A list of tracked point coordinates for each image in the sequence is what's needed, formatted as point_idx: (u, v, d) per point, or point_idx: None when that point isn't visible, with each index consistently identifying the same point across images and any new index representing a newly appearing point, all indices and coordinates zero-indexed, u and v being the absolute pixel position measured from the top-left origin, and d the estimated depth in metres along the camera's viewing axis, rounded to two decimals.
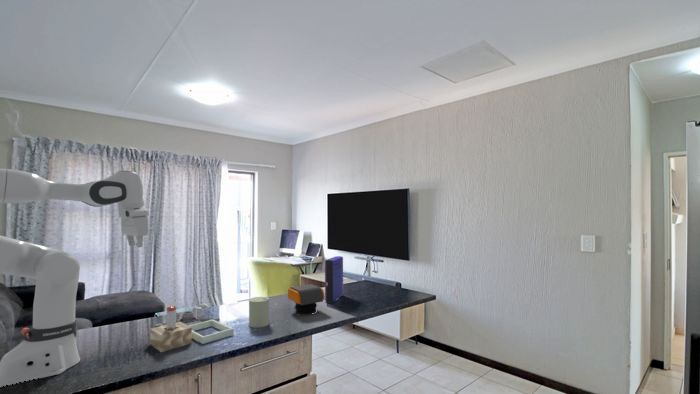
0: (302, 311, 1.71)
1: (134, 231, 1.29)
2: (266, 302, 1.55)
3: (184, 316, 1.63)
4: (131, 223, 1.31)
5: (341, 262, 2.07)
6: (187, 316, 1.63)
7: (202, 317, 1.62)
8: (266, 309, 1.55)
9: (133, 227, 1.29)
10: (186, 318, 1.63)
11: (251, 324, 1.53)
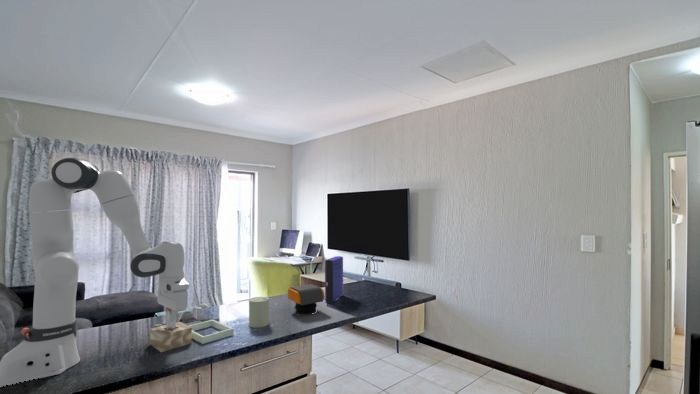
0: (302, 311, 1.71)
1: (173, 306, 1.27)
2: (266, 302, 1.55)
3: (184, 316, 1.62)
4: (170, 296, 1.29)
5: (341, 262, 2.07)
6: (187, 316, 1.63)
7: (202, 317, 1.62)
8: (266, 309, 1.55)
9: (172, 301, 1.27)
10: (186, 318, 1.62)
11: (251, 324, 1.53)
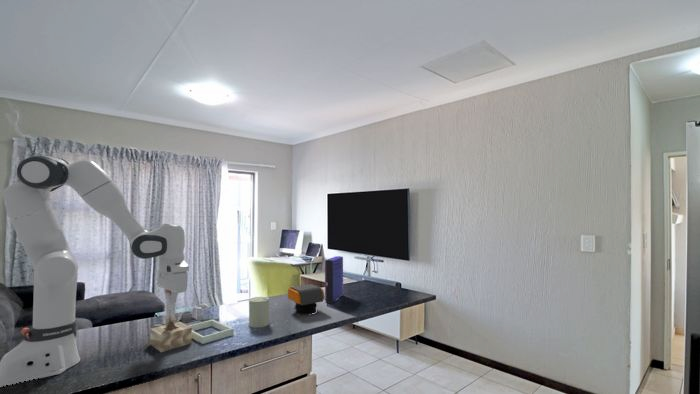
0: (302, 311, 1.71)
1: (173, 287, 1.27)
2: (266, 302, 1.55)
3: (183, 316, 1.62)
4: (170, 278, 1.30)
5: (341, 262, 2.07)
6: (186, 316, 1.62)
7: (202, 317, 1.62)
8: (266, 309, 1.55)
9: (172, 283, 1.27)
10: (185, 318, 1.62)
11: (251, 324, 1.53)
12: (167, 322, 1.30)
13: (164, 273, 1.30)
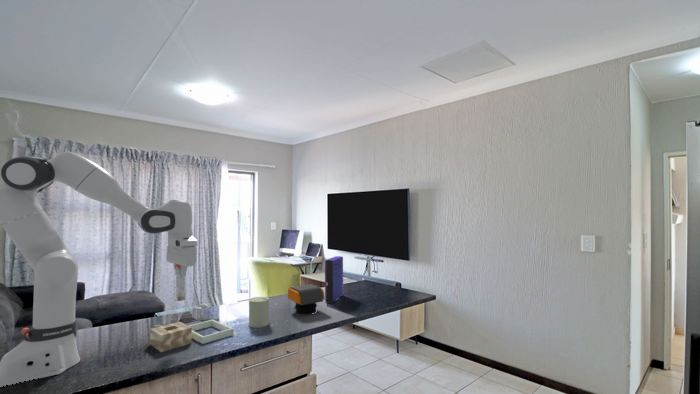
0: (302, 311, 1.71)
1: (182, 261, 1.29)
2: (266, 302, 1.55)
3: (183, 317, 1.62)
4: (179, 252, 1.32)
5: (341, 262, 2.07)
6: (186, 317, 1.62)
7: (202, 317, 1.62)
8: (266, 309, 1.55)
9: (181, 257, 1.30)
10: (185, 319, 1.62)
11: (251, 324, 1.53)
12: (178, 296, 1.33)
13: (173, 248, 1.32)
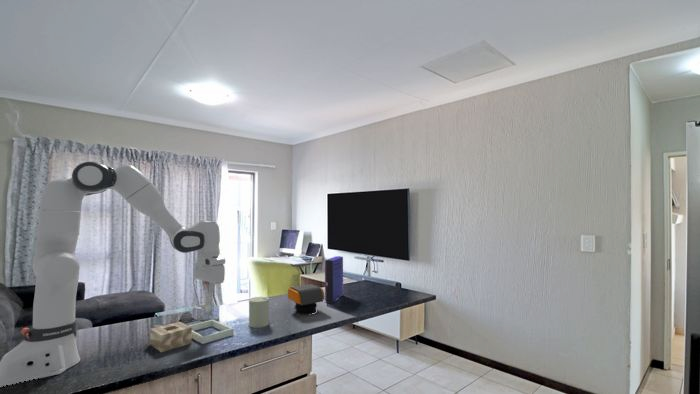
0: (302, 311, 1.71)
1: (212, 278, 1.37)
2: (266, 302, 1.55)
3: (183, 317, 1.62)
4: (208, 270, 1.40)
5: (341, 262, 2.07)
6: (186, 317, 1.62)
7: (201, 317, 1.61)
8: (266, 309, 1.55)
9: (211, 274, 1.38)
10: (185, 319, 1.62)
11: (251, 324, 1.53)
12: (206, 311, 1.41)
13: (202, 266, 1.41)
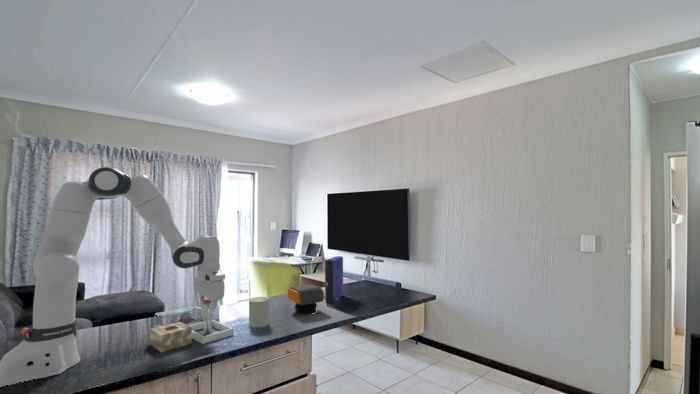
0: (302, 311, 1.71)
1: (211, 294, 1.37)
2: (266, 302, 1.55)
3: (182, 317, 1.61)
4: (208, 286, 1.40)
5: (341, 262, 2.07)
6: (186, 317, 1.62)
7: (201, 318, 1.61)
8: (266, 309, 1.55)
9: (210, 290, 1.38)
10: (185, 319, 1.61)
11: (251, 324, 1.53)
12: (205, 331, 1.41)
13: (202, 281, 1.40)
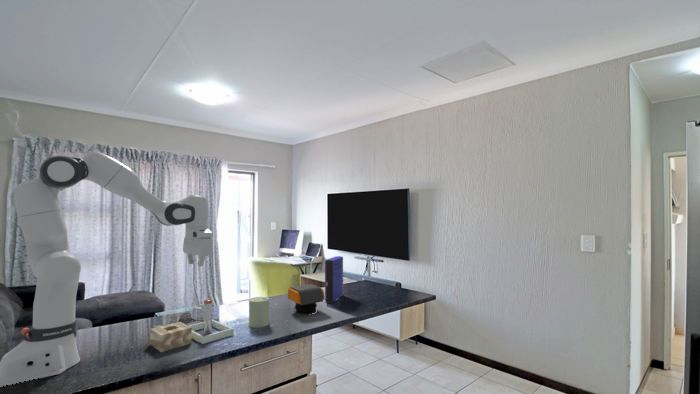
0: (302, 311, 1.71)
1: (198, 251, 1.40)
2: (266, 302, 1.55)
3: (182, 317, 1.61)
4: (196, 243, 1.43)
5: (341, 262, 2.07)
6: (185, 317, 1.61)
7: (201, 318, 1.61)
8: (266, 309, 1.55)
9: (198, 247, 1.41)
10: (184, 319, 1.61)
11: (251, 324, 1.53)
12: (205, 331, 1.41)
13: (190, 239, 1.44)
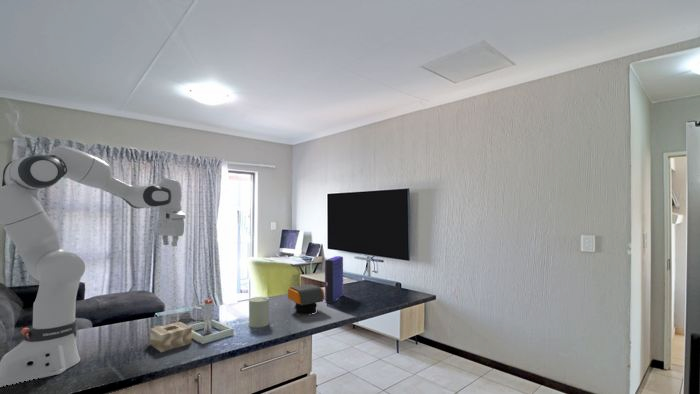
0: (302, 311, 1.71)
1: (171, 231, 1.47)
2: (266, 302, 1.55)
3: (182, 317, 1.61)
4: (169, 224, 1.50)
5: (341, 262, 2.07)
6: (185, 317, 1.61)
7: (201, 318, 1.61)
8: (266, 309, 1.55)
9: (171, 228, 1.47)
10: (184, 319, 1.61)
11: (251, 324, 1.53)
12: (205, 330, 1.41)
13: (164, 221, 1.50)
